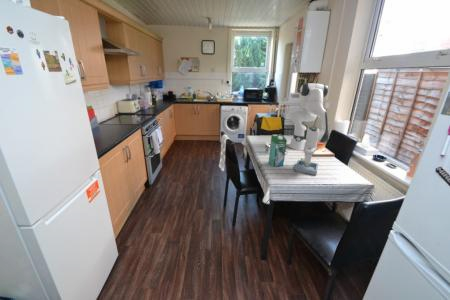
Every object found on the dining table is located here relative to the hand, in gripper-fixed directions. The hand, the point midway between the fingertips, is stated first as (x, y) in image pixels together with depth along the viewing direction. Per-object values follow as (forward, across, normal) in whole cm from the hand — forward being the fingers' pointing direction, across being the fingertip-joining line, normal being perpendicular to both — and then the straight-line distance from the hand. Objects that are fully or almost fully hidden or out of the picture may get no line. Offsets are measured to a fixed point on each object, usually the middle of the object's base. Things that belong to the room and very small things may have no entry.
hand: (307, 164), depth 164 cm
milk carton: (+5, +3, -24) cm, 25 cm away
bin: (+4, 0, 0) cm, 4 cm away
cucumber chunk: (+2, 0, 0) cm, 2 cm away
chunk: (+4, -11, -4) cm, 13 cm away
